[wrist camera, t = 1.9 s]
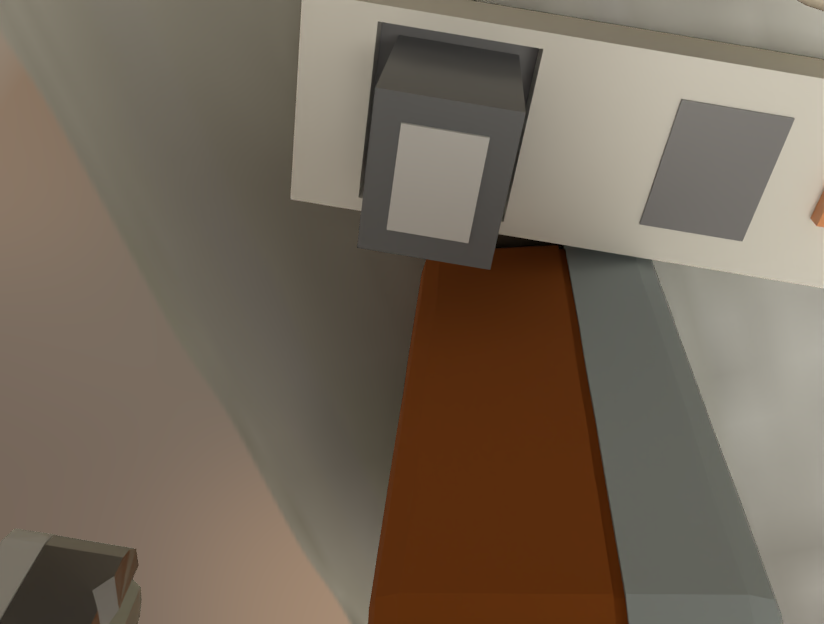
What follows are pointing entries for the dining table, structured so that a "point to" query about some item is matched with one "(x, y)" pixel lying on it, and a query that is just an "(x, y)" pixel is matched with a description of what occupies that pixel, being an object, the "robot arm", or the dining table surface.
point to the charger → (441, 151)
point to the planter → (814, 3)
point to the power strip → (597, 132)
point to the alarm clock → (558, 457)
